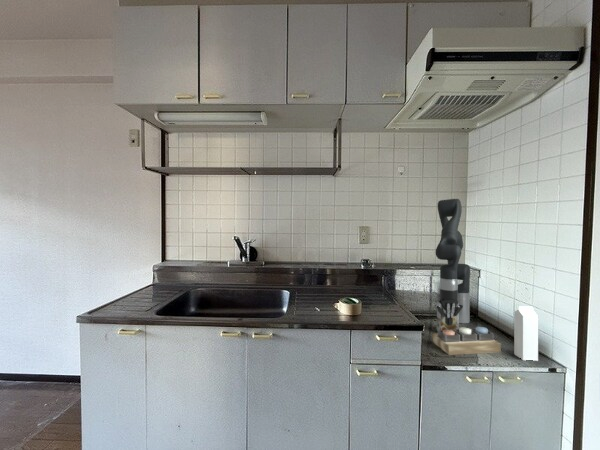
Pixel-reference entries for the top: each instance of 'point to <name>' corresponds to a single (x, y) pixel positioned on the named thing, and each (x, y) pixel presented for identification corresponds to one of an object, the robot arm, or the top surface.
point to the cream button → (464, 330)
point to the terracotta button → (448, 332)
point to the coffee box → (442, 325)
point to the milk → (526, 333)
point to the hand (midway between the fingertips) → (448, 325)
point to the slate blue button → (481, 330)
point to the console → (466, 343)
